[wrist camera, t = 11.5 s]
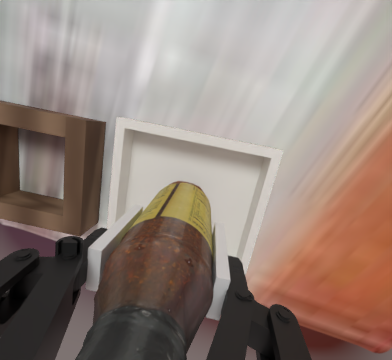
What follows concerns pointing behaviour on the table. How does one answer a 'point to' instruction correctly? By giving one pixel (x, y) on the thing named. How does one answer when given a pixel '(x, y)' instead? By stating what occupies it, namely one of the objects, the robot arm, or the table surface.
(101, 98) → the table surface
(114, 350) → the sauce bottle
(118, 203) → the plastic tray
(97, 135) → the walnut holder
